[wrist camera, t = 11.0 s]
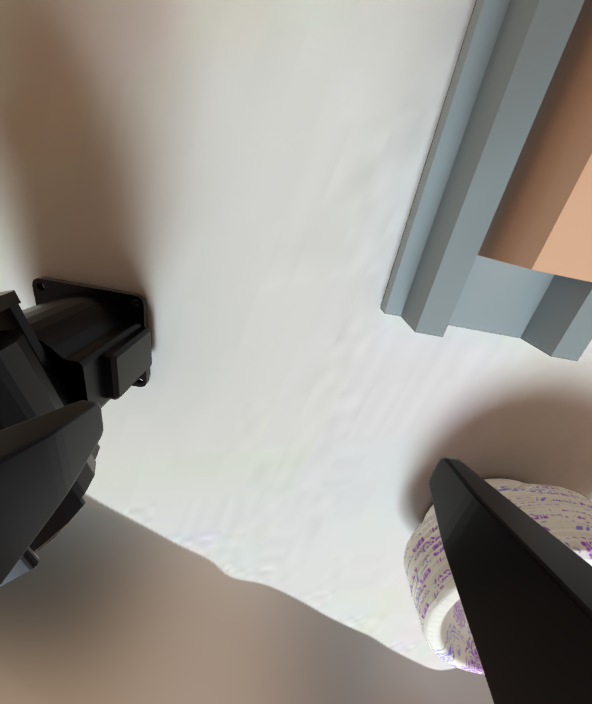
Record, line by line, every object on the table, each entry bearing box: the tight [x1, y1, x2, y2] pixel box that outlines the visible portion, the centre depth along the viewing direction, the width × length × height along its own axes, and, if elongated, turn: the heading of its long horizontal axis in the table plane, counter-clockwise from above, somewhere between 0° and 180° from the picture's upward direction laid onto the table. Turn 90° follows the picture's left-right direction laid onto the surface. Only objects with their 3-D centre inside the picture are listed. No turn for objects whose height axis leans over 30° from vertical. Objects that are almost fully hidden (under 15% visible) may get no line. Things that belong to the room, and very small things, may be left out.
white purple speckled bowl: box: [404, 479, 592, 675], centre depth 23 cm, size 15×15×8 cm
